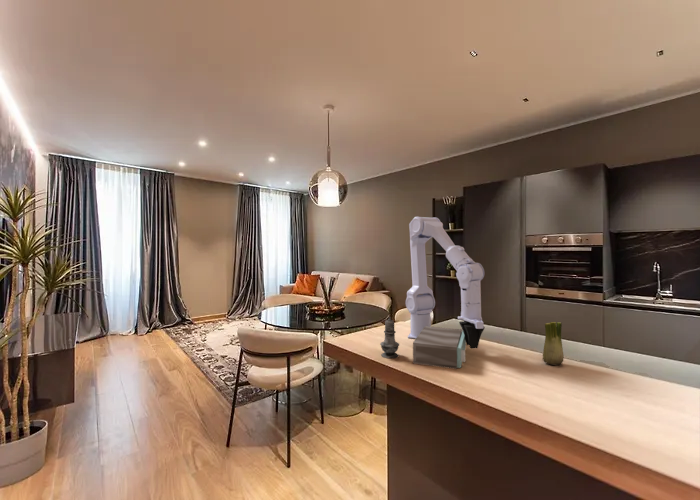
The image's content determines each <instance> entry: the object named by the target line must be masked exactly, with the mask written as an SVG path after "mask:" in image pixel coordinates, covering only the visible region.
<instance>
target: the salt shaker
mask: <svg viewBox="0 0 700 500" xmlns="http://www.w3.org/2000/svg"><path fill="white" fill-rule="evenodd" d="M383 333H384V341H380V343H379V345H380V347H381V350H382V351H383V352H382V353H381V354H380V355H381V357H382V358H384V359H390V360H391V359H392V360H393V359H396V358H399V354H398V353H397V351H398V349H399V346H400V343H399V342H397V341H396V337H395V335H396V330H395V321H394V320H392V319H391V317H390V316H388V319H386V320H385V322H384V331H383Z"/></svg>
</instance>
